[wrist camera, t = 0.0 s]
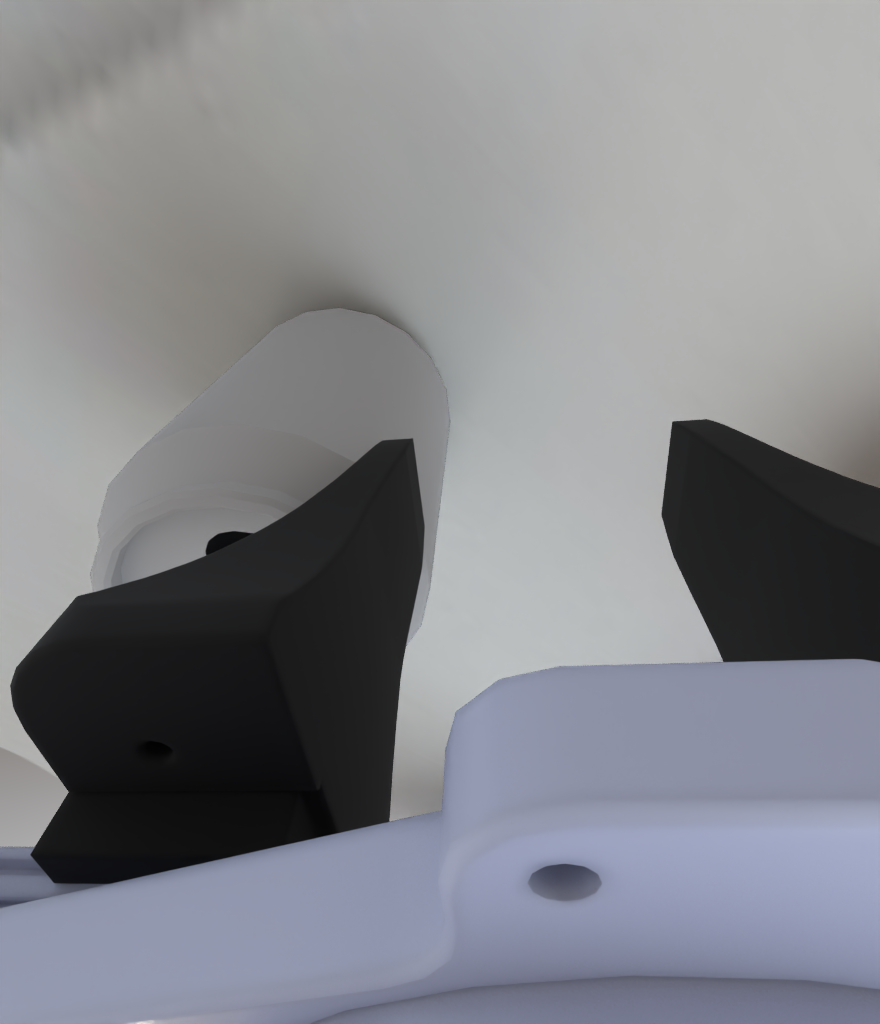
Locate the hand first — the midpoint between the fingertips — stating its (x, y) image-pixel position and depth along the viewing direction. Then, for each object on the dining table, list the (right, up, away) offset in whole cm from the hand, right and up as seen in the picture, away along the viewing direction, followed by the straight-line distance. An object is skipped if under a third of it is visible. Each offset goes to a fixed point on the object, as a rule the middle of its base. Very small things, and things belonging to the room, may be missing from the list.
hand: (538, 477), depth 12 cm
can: (-5, +3, +11) cm, 13 cm away
